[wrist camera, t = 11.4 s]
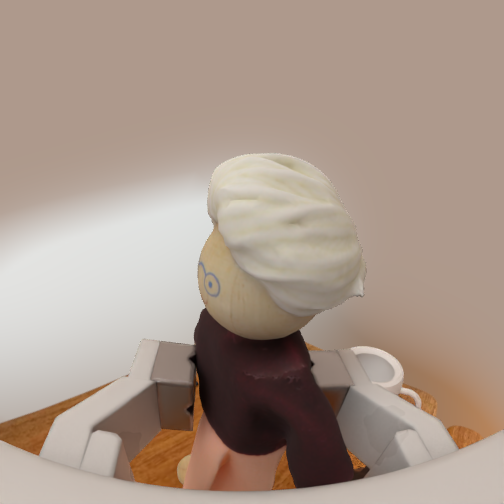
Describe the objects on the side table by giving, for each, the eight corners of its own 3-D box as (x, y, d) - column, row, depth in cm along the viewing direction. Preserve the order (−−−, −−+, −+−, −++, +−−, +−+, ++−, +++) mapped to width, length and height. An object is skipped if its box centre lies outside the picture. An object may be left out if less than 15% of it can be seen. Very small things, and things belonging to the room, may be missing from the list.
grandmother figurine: (140, 455, 11) (119, 138, 7) (211, 429, 13) (242, 147, 9) (248, 588, 6) (509, 220, 1) (323, 536, 8) (516, 216, 4)
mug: (307, 416, 32) (325, 368, 30) (336, 380, 39) (353, 334, 36) (396, 457, 26) (428, 411, 23) (413, 413, 32) (438, 368, 30)
